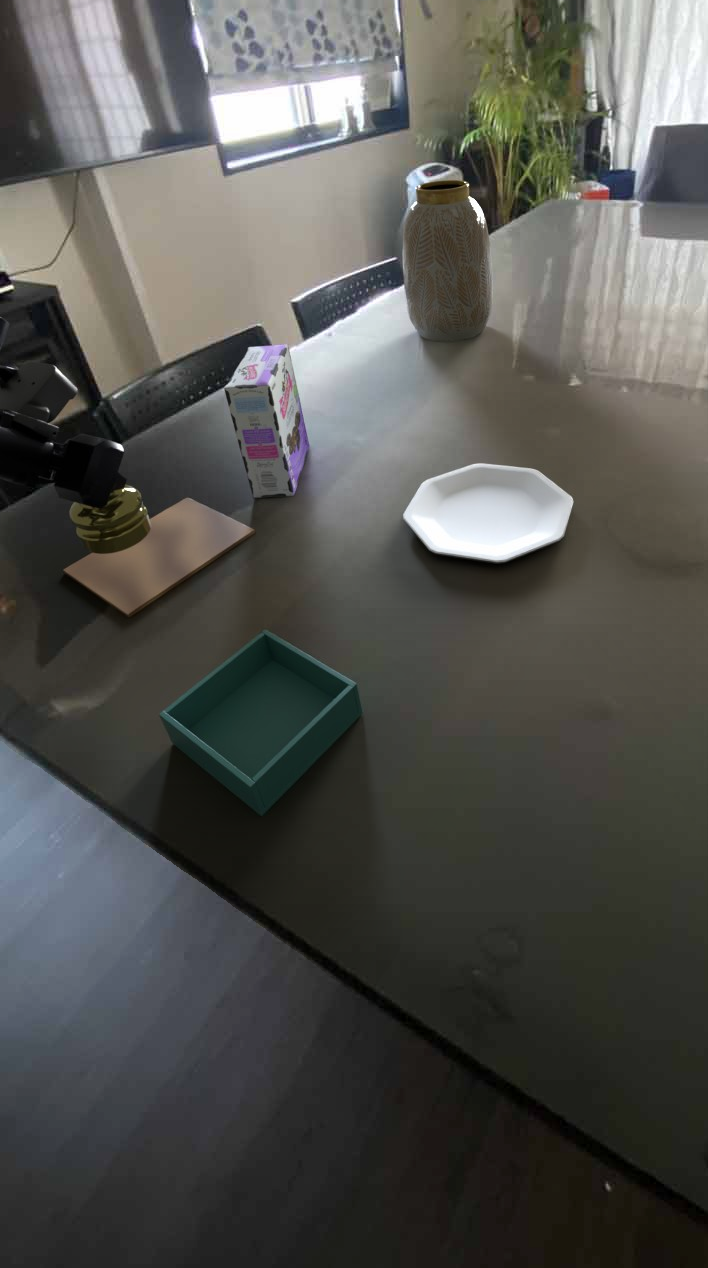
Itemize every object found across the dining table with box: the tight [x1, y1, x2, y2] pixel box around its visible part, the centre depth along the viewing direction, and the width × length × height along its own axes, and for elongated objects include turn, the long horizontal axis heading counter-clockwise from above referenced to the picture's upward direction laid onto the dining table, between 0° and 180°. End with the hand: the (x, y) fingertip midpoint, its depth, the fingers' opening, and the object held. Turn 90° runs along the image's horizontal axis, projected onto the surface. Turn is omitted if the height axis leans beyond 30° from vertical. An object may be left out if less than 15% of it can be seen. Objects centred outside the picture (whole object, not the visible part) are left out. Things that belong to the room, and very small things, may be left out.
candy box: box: [224, 343, 310, 499], centre depth 93 cm, size 14×6×16 cm, turn 179°
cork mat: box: [62, 496, 256, 618], centre depth 83 cm, size 18×14×1 cm
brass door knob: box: [68, 483, 151, 554], centre depth 73 cm, size 7×7×10 cm
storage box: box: [158, 629, 364, 817], centre depth 60 cm, size 12×12×4 cm
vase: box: [402, 179, 494, 342], centre depth 130 cm, size 17×17×27 cm
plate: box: [402, 462, 574, 565], centre depth 84 cm, size 20×20×2 cm
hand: (108, 479), depth 73 cm, fingers closed on brass door knob, 5 cm apart
